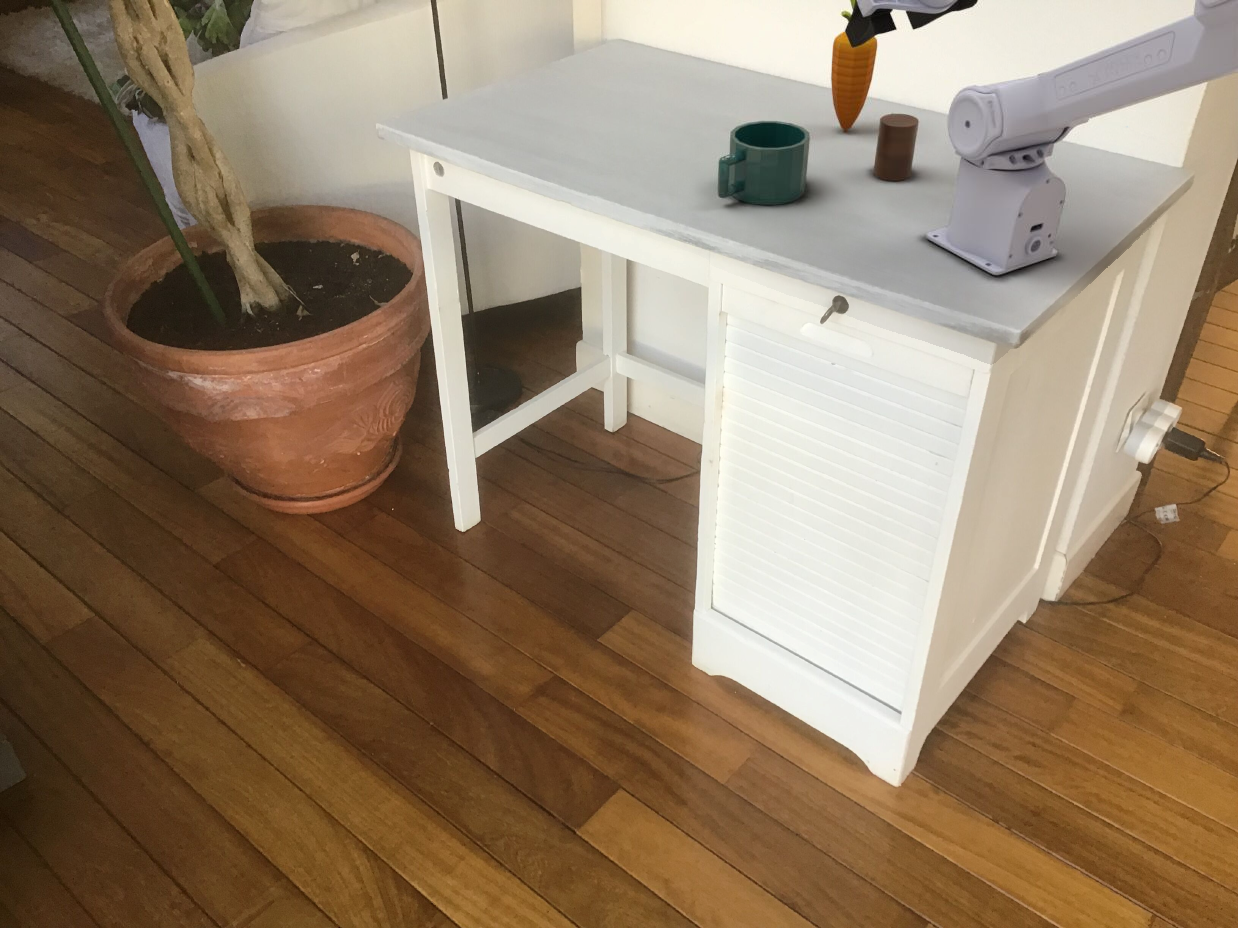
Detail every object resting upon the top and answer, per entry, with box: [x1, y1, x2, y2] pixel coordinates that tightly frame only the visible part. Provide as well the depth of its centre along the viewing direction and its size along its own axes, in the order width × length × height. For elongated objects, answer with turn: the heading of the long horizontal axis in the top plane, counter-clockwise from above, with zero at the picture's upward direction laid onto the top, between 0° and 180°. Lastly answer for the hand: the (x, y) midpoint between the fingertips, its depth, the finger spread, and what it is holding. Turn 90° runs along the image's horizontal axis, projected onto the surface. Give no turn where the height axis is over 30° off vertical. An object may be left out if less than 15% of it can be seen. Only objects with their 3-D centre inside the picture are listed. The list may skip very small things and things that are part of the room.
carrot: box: [830, 0, 878, 132], centre depth 119 cm, size 5×5×15 cm
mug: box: [717, 120, 811, 206], centre depth 108 cm, size 11×8×6 cm
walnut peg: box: [872, 113, 920, 182], centre depth 111 cm, size 4×4×6 cm
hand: (881, 29), depth 104 cm, fingers open, 7 cm apart
